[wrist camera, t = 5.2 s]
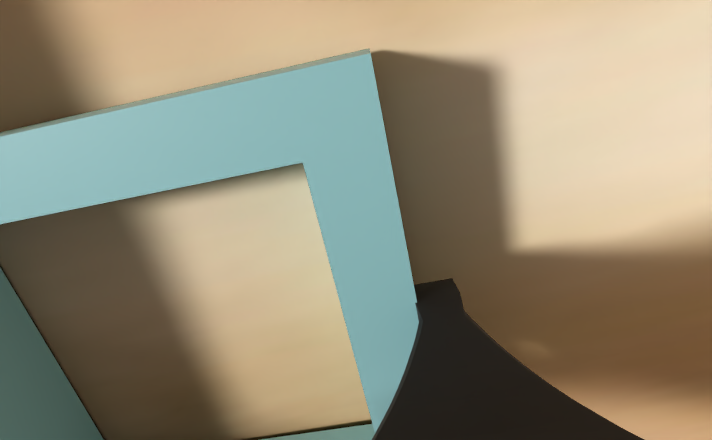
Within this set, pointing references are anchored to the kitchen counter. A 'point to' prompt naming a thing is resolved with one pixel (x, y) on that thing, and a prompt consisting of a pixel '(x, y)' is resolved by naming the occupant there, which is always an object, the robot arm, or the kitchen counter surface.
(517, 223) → the kitchen counter surface
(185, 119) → the collar block
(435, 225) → the kitchen counter surface
